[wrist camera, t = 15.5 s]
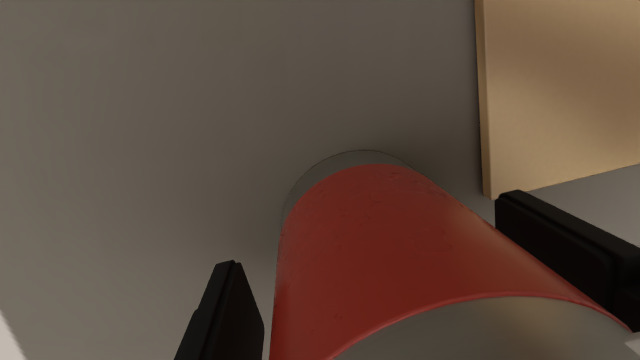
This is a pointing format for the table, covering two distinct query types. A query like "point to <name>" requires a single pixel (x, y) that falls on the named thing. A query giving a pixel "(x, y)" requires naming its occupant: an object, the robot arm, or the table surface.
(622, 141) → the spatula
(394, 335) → the tin can
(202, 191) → the table surface
